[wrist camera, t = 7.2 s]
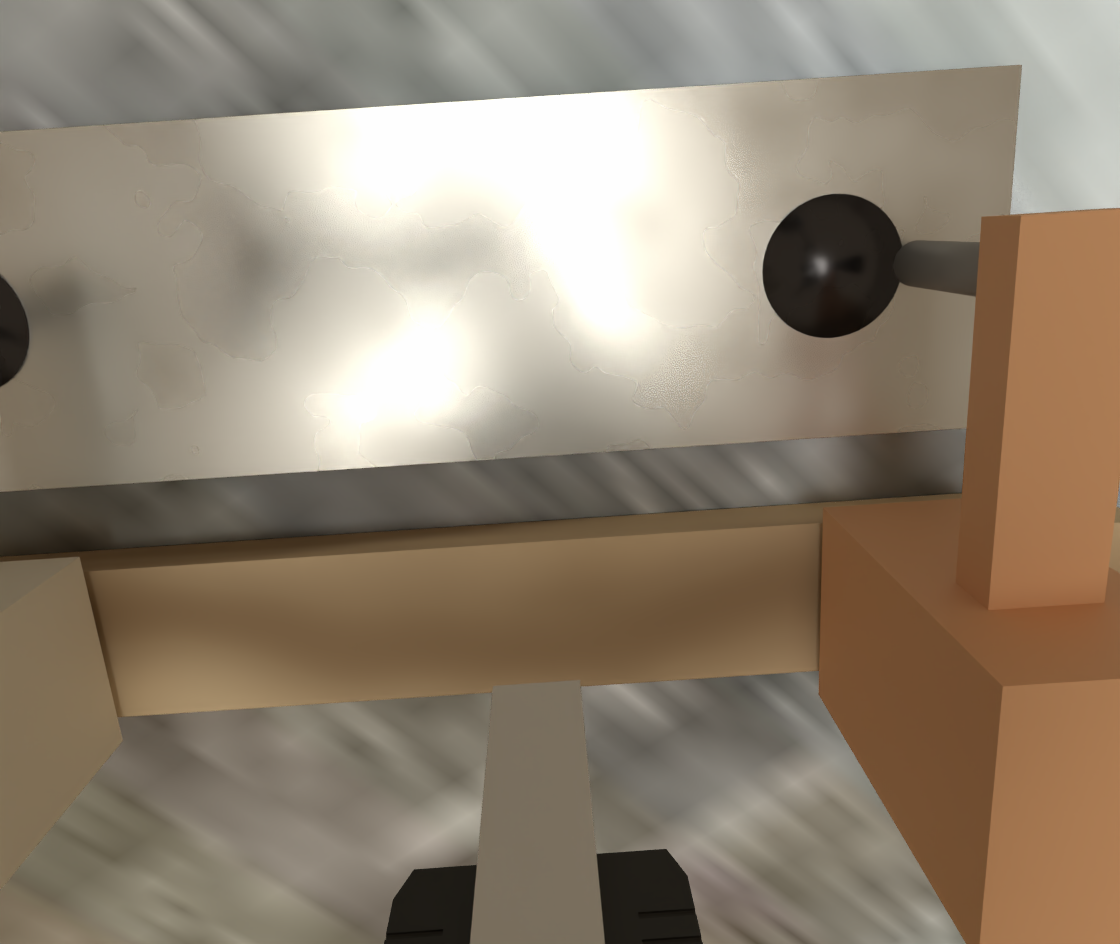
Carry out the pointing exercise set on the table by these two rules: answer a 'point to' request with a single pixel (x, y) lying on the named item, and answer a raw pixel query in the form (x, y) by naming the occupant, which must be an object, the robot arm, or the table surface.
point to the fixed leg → (48, 701)
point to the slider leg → (1000, 599)
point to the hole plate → (490, 277)
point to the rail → (462, 608)
